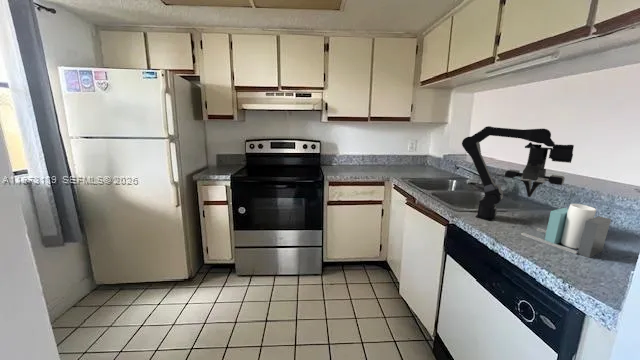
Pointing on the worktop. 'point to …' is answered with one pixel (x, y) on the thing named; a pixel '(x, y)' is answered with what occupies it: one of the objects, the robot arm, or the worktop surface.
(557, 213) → the block
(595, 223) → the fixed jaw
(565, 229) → the drinking glass
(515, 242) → the worktop surface
